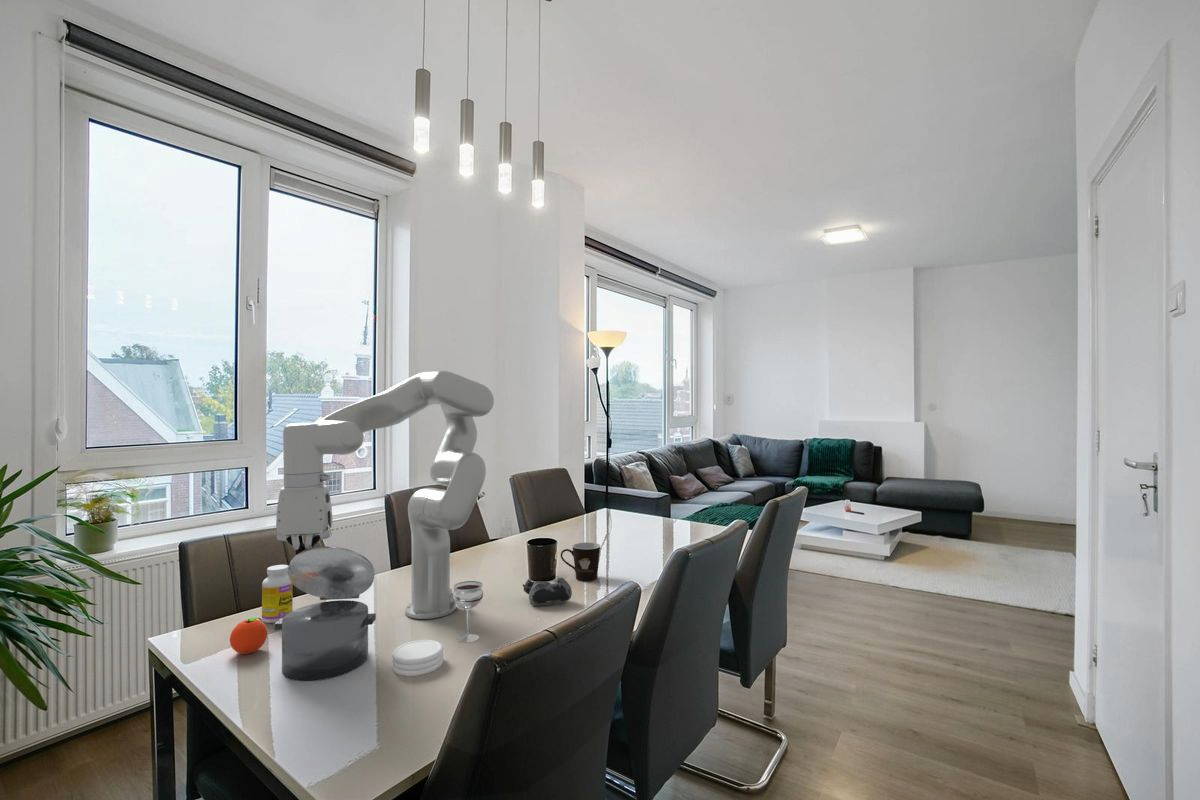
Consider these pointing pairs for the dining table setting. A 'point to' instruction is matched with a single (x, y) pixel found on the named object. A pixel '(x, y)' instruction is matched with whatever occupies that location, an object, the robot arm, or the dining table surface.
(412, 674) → the white round stack
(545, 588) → the bison figurine
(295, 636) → the pot
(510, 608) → the dining table surface
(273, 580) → the supplement bottle
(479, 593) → the wineglass
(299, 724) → the dining table surface
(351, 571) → the lid
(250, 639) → the clementine
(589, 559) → the coffee mug
